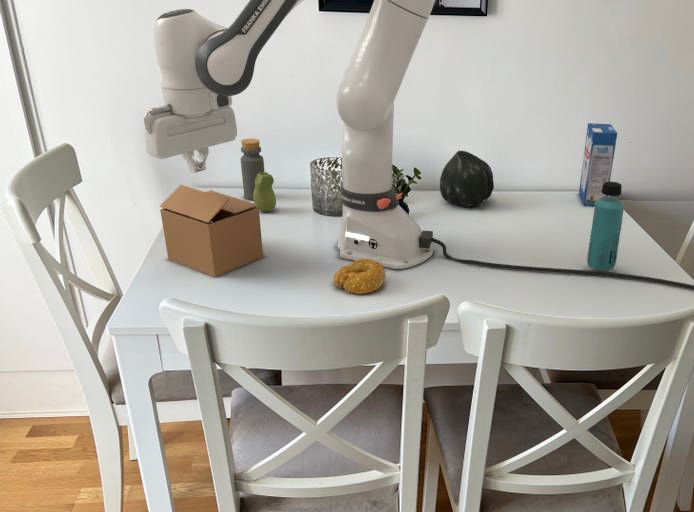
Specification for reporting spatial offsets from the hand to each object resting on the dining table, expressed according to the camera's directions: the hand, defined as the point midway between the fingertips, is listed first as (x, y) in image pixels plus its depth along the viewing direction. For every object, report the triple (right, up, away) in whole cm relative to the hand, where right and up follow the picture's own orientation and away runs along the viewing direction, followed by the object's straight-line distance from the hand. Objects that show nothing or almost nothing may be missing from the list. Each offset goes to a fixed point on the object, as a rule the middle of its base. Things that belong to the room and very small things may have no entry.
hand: (197, 171), depth 153 cm
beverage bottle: (+85, -19, +14) cm, 88 cm away
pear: (+5, -1, +39) cm, 39 cm away
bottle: (0, +5, +48) cm, 48 cm away
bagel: (+33, -23, +3) cm, 40 cm away
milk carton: (+92, +6, +56) cm, 108 cm away
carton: (0, -16, +12) cm, 20 cm away
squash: (+56, +4, +51) cm, 76 cm away
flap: (-1, -6, +2) cm, 7 cm away
